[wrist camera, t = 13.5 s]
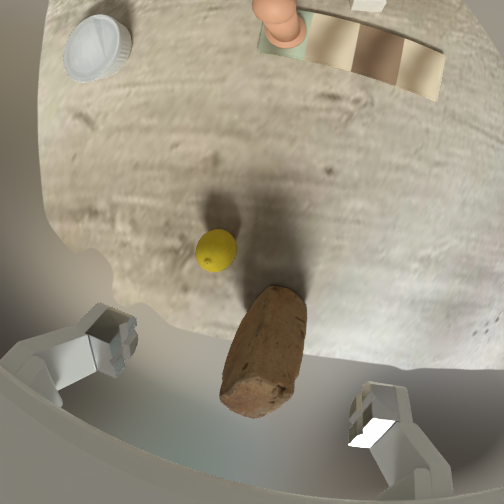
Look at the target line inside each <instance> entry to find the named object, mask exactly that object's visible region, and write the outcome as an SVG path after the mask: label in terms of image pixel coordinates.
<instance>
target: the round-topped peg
mask: <svg viewBox="0 0 504 504" xmlns="http://www.w3.org/2000/svg"><path fill="white" fill-rule="evenodd" d="M252 9H253V12H254V14H255V15H256V17H257V18H258V19H260V20H261V21H262V22H263V23H264V25H265V27H264V32H265V35H266V37H267V39H268V40H269V41H270V42H271V43H272V44H273V45H274V46H276V47H279V48H283V49H290V48H294V47H296V46H298V45H300V44H301V43H302V42H303V41H304V39H305V37H306V33H307V30H306V25H305V23H304V21H303V19H302V18H301V17H299V16H298V15H297V12H296V1H295V0H253V1H252Z"/></svg>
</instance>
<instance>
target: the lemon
mask: <svg viewBox="0 0 504 504" xmlns="http://www.w3.org/2000/svg"><path fill="white" fill-rule="evenodd" d="M236 253H237V244H236V241H235V239H234V237H233V236H232V235H231V234H230V233H229V232H227V231H225V230H222V229H214V230H211V231H208V232H207V233H205V234H204V235H203V236H202V237H201V239H200V240H199V242H198V244H197V247H196V253H195V254H196V259H197V262H198V264H199V265H200V266H201V267H202V268H203V269H205V270H207V271H209V272H219V271H222V270H224V269H226V268H227V267H228V266H229V265H230V264H231V263H232V262H233V260H234V259H235V256H236Z"/></svg>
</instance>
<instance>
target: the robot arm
mask: <svg viewBox="0 0 504 504" xmlns="http://www.w3.org/2000/svg"><path fill="white" fill-rule="evenodd" d="M136 326H137V321H136V318H135V317H134V316H132V315H129V314H127V313H124V312H122V311H120V310H117V309H115V308H113V307H110V306H107V305H105V304H103V303H101V302H100V303H97V304H96V305H95V306H94V307H93V308H92V309H91V310H90V311H89V312H88V313H87V314H86V315H85V316H84V317H83V318H82V319H81V320H80V321H79V322H78V323H77V324H76V325H75V326H74V327H71V326H69V327H66V328H63V329H59V330H56V331H53V332H49V333H47V334H43V335H40V336H37V337H33V338H30V339H26V340H23V341H20V342H17V343H16V344H15V345H14V346H13V347H12V349H10V350H9V351H8V353H7V354H6V355H5V356H4V357H3V358H2V359H1V360H0V504H504V486H503V487H499V488H495V489H490V490H486V491H480V492H475V493H470V494H464V495H456V496H454V493H453V485H452V476H451V469H450V466H449V464H448V463H447V462H446V461H445V459H444V458H443V457H442V456H441V454H440V453H439V452H438V450H436V448H435V447H434V445H433V444H432V443H431V442H430V440H429V439H428V438H427V437H426V435H425V434H424V433H423V432H422V430H421V429H420V428H419V426H418V425H417V424H413V420H412V414H411V408H410V402H409V396H408V391H407V388H406V387H402V386H395V385H389V384H382V383H376V382H369V381H367V382H366V383H365V384H364V385H363V386H362V393H360V394H358V395H356V397H355V398H354V400H353V401H352V404H351V407H350V411H349V420H350V422H351V423H352V427H351V428H350V429H349V445H350V446H357V447H365V448H370V451H371V452H372V454H373V456H374V458H375V460H376V462H377V464H378V466H379V468H380V470H381V471H382V473H383V475H384V477H385V479H386V481H387V482H388V485H389V488H388V489H386V490H385V491H383V492H382V493H380V494H379V495H378V496H377V501H367V500H366V501H365V500H346V499H332V498H321V497H313V496H306V495H298V494H292V493H286V492H279V491H274V490H269V489H264V488H259V487H255V486H250V485H246V484H242V483H238V482H233V481H230V480H226V479H223V478H219V477H216V476H212V475H209V474H206V473H202V472H199V471H196V470H193V469H190V468H187V467H184V466H181V465H179V464H176V463H173V462H170V461H168V460H165V459H163V458H160V457H157V456H155V455H152V454H150V453H148V452H145V451H143V450H141V449H138V448H136V447H134V446H131V445H129V444H127V443H125V442H123V441H120V440H119V439H117V438H114V437H112V436H110V435H108V434H106V433H104V432H103V431H101V430H98V429H97V428H95V427H93V426H91V425H89V424H87V423H86V422H84V421H82V420H80V419H79V418H77V417H75V416H73V415H72V414H70V413H68V412H67V411H65V410H63V409H62V408H60V407H61V406H62V405H63V404H62V399H61V398H60V395H59V393H58V390H60V389H61V388H64V387H66V386H67V385H69V384H71V383H74V382H76V381H78V380H80V379H81V378H83V377H86V376H88V375H90V374H92V373H94V372H96V370H98V371H100V372H102V373H105V374H107V375H109V376H111V377H114V378H117V377H118V375H119V374H120V372H121V371H122V370H123V368H124V367H125V363H124V360H126V359H129V358H131V356H132V355H133V354H134V352H135V349H136V347H137V343H138V334H137V332H136V331H135V330H134V328H135V327H136Z"/></svg>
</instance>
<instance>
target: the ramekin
mask: <svg viewBox="0 0 504 504" xmlns="http://www.w3.org/2000/svg"><path fill="white" fill-rule="evenodd" d="M131 45H132V40H131V36H130V33H129V31H128V30H127V28H126V27H125V26H124V25H122V24H121V23H119V22H118V21H117V20H116V19H115V18H113V17H111V16H109V15H105V14H96V15H93V16H90V17H88V18H86V19H85V20H83V21H82V22H81V23H79V24H78V25H77V27H76V28H75V29H74V30H73V31H72V33H71V35H70V36H69V38H68V40H67V43H66V46H65V50H64V55H63V57H64V67H65V70H66V72H67V74H68V76H69V77H70V78H71V79H73V80H74V81H77V82H80V83H89V82H93V81H96V80H99V79H104V78H107V77H110V76H112V75H113V74H115V73H116V72H118V71H119V70H120V69H121V68H122V66H123V65H124V64H125V62H126V61H127V59H128V57H129V54H130V51H131Z"/></svg>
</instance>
